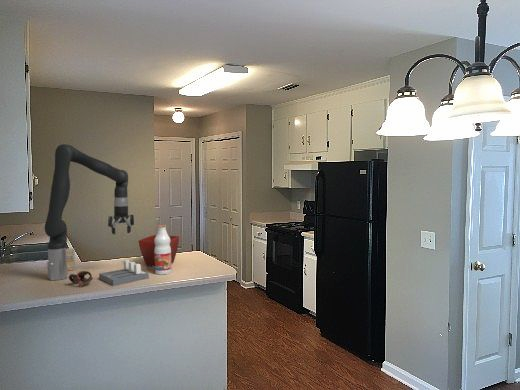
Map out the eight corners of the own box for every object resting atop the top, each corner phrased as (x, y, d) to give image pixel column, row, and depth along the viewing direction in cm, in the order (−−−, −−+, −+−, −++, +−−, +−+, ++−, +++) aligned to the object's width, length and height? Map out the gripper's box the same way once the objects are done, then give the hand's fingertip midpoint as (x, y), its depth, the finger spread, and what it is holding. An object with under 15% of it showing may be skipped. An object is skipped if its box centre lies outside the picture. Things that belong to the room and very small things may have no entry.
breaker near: (136, 274, 231) (136, 265, 230) (134, 273, 233) (133, 264, 232) (140, 273, 232) (140, 264, 232) (138, 272, 234) (138, 263, 234)
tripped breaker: (131, 272, 235) (131, 263, 235) (128, 271, 238) (128, 262, 237) (135, 271, 237) (135, 262, 237) (133, 270, 239) (132, 261, 239)
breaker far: (126, 270, 240) (125, 261, 240) (123, 269, 242) (123, 260, 242) (130, 269, 242) (130, 260, 241) (128, 268, 244) (127, 259, 244)
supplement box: (59, 271, 252) (58, 250, 251) (60, 269, 257) (59, 248, 256) (74, 270, 254) (73, 249, 253) (75, 268, 259) (74, 247, 258)
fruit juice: (174, 271, 248) (173, 224, 246) (165, 275, 239) (163, 226, 237) (161, 270, 252) (160, 223, 250) (151, 274, 243) (150, 225, 241)
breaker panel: (113, 285, 220) (113, 280, 220) (99, 278, 235) (99, 273, 234) (148, 278, 234) (148, 273, 234) (133, 272, 248) (133, 267, 248)
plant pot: (166, 269, 255) (165, 241, 254) (138, 267, 260) (137, 240, 258) (180, 261, 273) (179, 236, 272) (154, 260, 278) (153, 235, 277)
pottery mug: (93, 282, 230) (95, 270, 226) (88, 294, 222) (90, 282, 218) (69, 278, 227) (71, 266, 224) (64, 290, 219) (66, 278, 216)
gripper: (111, 206, 231) (111, 235, 232) (135, 205, 240) (136, 233, 242) (106, 205, 237) (106, 233, 238) (130, 204, 246) (130, 231, 247)
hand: (121, 233), depth 240 cm, fingers open, 8 cm apart
